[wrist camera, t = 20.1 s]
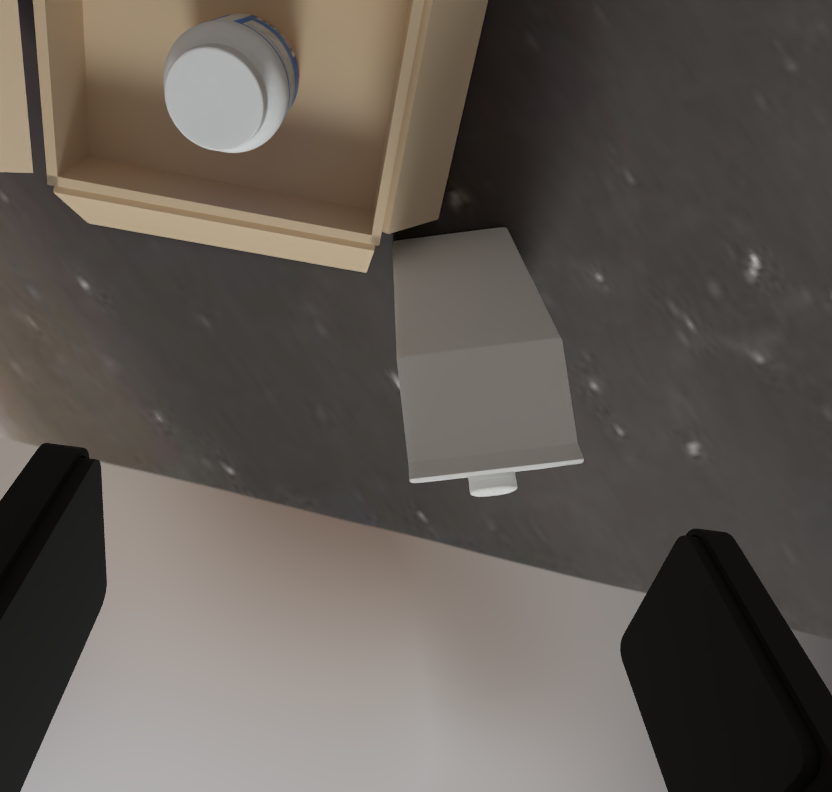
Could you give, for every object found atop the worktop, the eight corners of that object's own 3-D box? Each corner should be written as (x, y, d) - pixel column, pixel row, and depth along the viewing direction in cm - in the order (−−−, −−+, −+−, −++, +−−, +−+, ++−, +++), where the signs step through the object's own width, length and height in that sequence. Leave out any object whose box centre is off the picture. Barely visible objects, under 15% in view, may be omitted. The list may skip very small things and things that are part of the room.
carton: (509, -98, 33) (528, -109, 28) (423, 280, 43) (427, 313, 39) (65, -217, 30) (13, -249, 25) (87, 220, 40) (52, 249, 36)
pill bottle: (206, 125, 37) (155, 168, 29) (189, 12, 34) (127, 24, 26) (306, 125, 37) (284, 168, 29) (298, 13, 34) (271, 25, 26)
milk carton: (392, 239, 41) (398, 409, 25) (506, 225, 41) (586, 386, 25) (405, 341, 45) (419, 544, 29) (510, 328, 45) (582, 525, 29)
